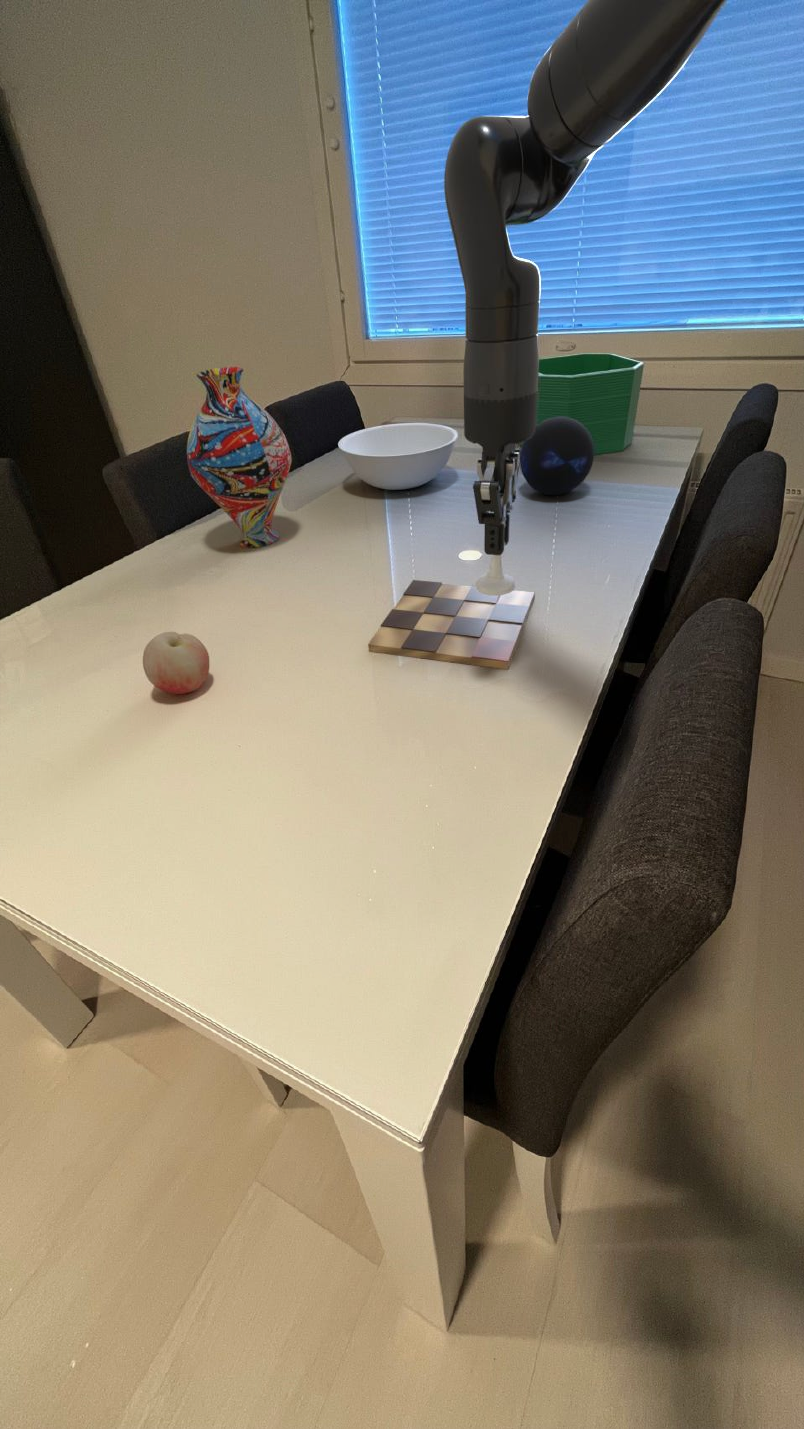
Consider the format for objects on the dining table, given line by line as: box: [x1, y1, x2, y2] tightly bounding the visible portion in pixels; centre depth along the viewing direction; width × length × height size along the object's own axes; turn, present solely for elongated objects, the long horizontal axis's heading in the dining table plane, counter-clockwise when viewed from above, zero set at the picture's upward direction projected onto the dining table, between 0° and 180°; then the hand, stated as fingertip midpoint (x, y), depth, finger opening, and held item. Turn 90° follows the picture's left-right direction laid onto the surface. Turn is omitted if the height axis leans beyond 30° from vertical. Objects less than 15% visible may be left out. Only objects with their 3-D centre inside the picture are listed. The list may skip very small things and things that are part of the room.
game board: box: [367, 579, 536, 670], centre depth 89 cm, size 20×20×1 cm
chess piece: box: [475, 541, 516, 596], centre depth 72 cm, size 5×5×10 cm
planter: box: [516, 352, 645, 456], centre depth 152 cm, size 26×26×18 cm
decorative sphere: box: [519, 417, 595, 496], centre depth 125 cm, size 15×15×15 cm
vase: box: [186, 366, 292, 548], centre depth 113 cm, size 19×19×30 cm
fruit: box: [142, 631, 211, 695], centre depth 80 cm, size 8×8×8 cm
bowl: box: [337, 422, 459, 491], centre depth 140 cm, size 27×27×10 cm
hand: (496, 548), depth 72 cm, fingers closed on chess piece
